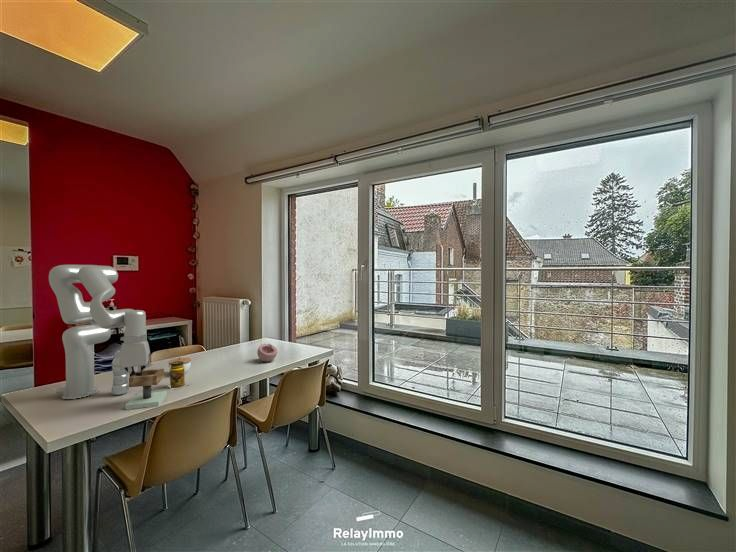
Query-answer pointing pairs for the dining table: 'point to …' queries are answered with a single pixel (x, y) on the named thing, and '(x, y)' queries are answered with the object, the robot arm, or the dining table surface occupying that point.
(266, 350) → the pink round bowl
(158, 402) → the peg stand
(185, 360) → the white round bowl
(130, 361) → the robot arm
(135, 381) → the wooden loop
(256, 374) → the dining table surface
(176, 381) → the condiment
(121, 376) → the plastic bottle
